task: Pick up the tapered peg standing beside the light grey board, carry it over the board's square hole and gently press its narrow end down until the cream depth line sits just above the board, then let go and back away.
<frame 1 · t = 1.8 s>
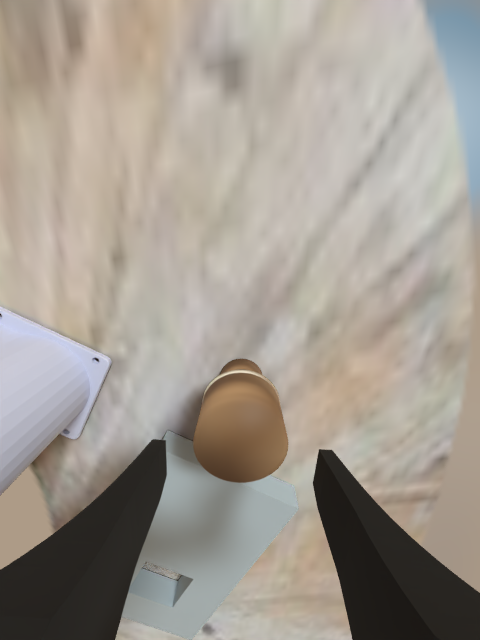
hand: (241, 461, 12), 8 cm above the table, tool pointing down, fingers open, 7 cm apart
board: (183, 533, 24), on the table
peg: (241, 378, 20), on the table
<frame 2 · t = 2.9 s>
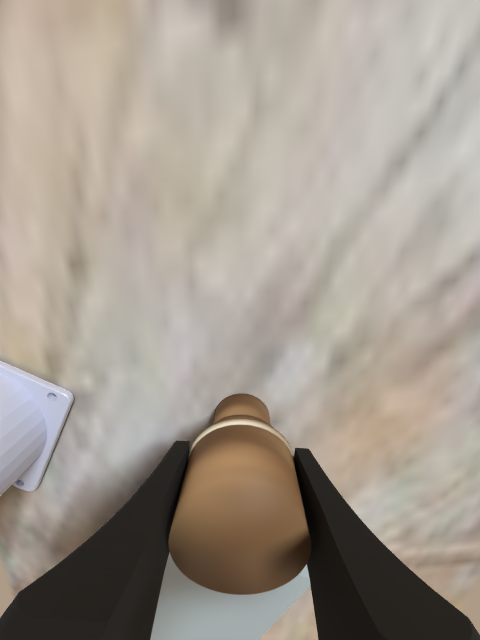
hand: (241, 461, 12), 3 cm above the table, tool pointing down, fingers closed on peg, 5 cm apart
board: (170, 597, 20), on the table
peg: (241, 417, 15), on the table, touching gripper
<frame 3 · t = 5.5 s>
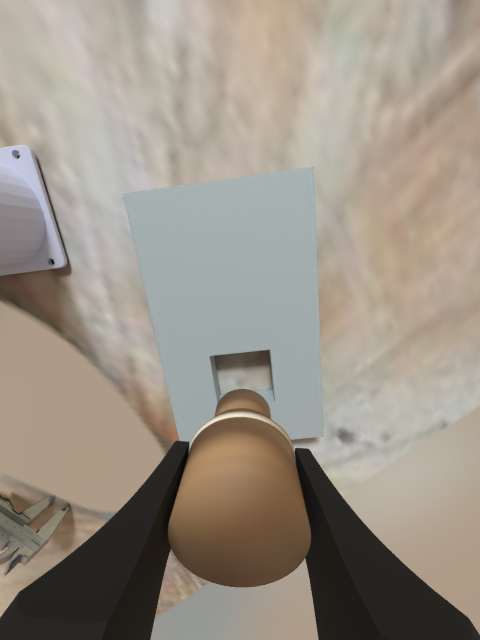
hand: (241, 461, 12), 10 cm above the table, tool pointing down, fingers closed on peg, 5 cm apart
board: (237, 323, 21), on the table
peg: (242, 413, 15), point 7 cm above the table, touching gripper
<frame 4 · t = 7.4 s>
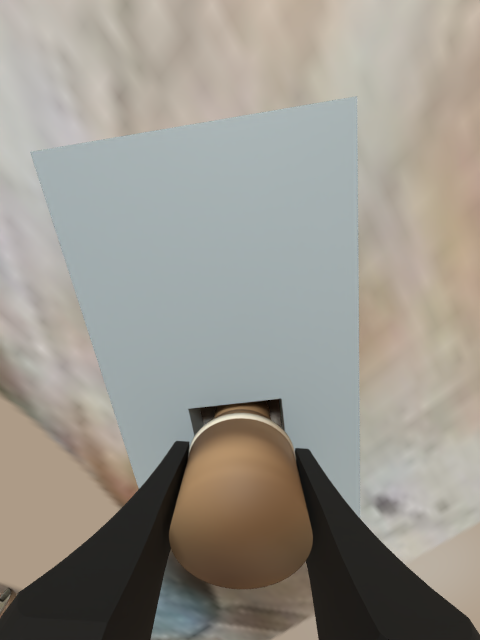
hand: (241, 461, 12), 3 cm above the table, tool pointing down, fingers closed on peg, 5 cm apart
board: (231, 354, 14), on the table
peg: (242, 413, 15), resting in board, touching gripper
when the fingers open (3 cm above the table, at t = 8.6 s): peg stays where it is, resting in board.
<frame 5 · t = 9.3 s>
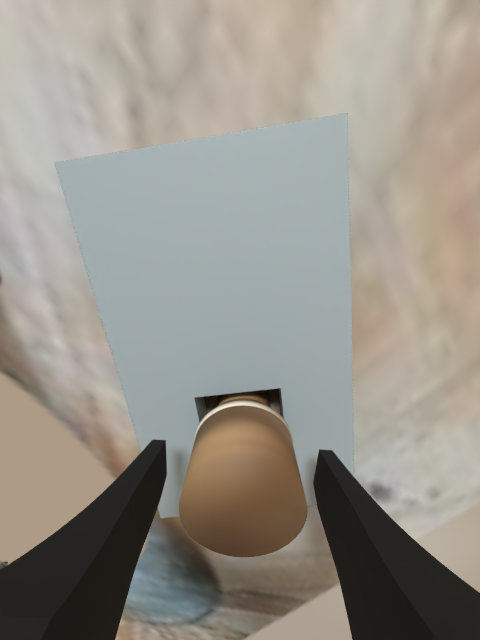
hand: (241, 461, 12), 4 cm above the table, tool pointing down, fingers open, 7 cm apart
board: (233, 348, 15), on the table
peg: (243, 404, 16), resting in board
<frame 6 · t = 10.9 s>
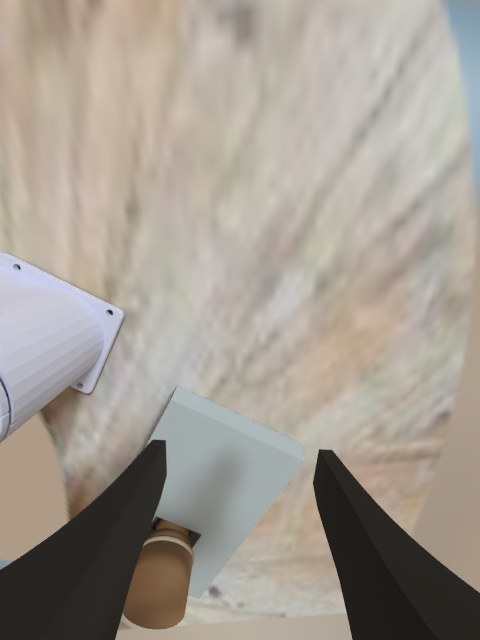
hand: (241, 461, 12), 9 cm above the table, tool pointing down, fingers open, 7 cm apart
board: (191, 492, 25), on the table
peg: (175, 517, 26), resting in board
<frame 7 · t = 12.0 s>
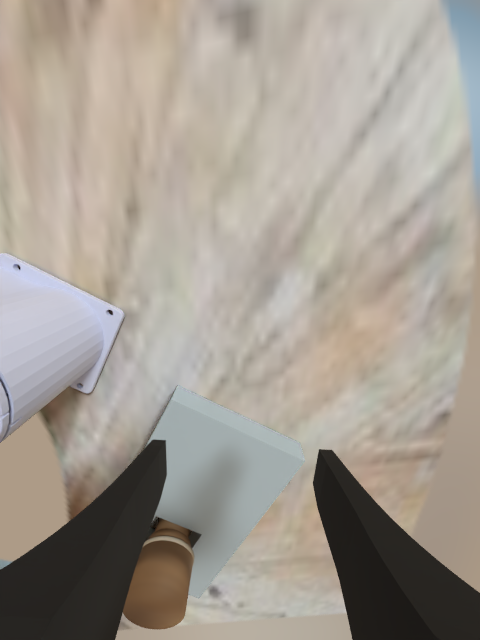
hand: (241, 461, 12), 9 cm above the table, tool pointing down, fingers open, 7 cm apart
board: (191, 492, 25), on the table
peg: (175, 517, 26), resting in board
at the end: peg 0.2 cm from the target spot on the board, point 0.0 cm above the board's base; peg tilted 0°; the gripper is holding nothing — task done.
